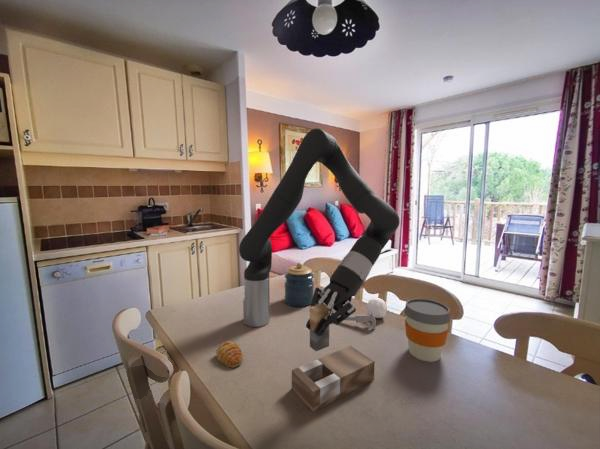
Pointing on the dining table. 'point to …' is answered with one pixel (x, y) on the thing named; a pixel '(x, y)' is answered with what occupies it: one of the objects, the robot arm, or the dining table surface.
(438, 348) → the reusable coffee cup
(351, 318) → the caliper
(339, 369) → the notched wooden block
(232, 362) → the pastry
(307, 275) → the canister
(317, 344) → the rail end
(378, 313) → the geometric ball
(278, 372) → the dining table surface
